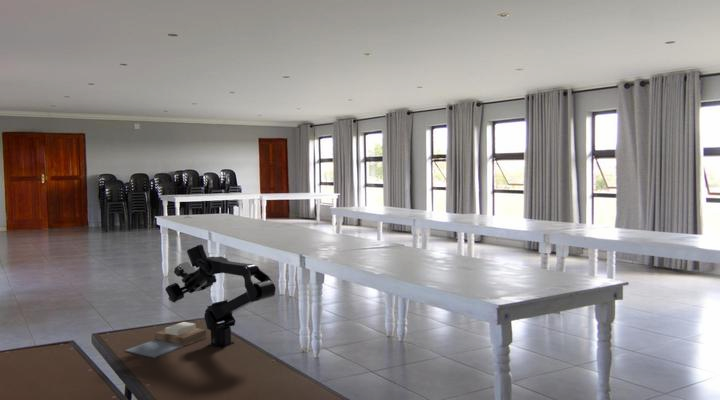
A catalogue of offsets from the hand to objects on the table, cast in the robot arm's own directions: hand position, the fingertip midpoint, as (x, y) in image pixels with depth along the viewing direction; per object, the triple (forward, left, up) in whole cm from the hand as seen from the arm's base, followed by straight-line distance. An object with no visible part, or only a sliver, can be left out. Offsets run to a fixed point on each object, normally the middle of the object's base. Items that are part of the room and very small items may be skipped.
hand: (179, 295), depth 216 cm
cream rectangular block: (-7, +6, -11) cm, 14 cm away
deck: (-7, +6, -14) cm, 17 cm away
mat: (-7, +18, -14) cm, 24 cm away
